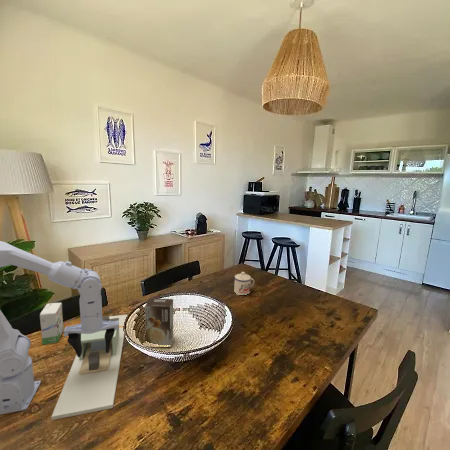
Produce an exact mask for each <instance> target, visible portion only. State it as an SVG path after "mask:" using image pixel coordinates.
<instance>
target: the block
mask: <svg viewBox="0 0 450 450" xmlns="http://www.w3.org/2000/svg"><path fill="white" fill-rule="evenodd" d="M105 349H106V342H105V340H102V341H95V342H91V351H97V350H105Z"/></svg>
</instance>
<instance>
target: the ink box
mask: <svg viewBox="0 0 450 450" xmlns="http://www.w3.org/2000/svg"><path fill="white" fill-rule="evenodd" d="M39 320H40V329H41V330H40V331H41V332H40V333H41V342H42V345H51V344H56V343H59V341H60V339H61V337H62V334H63V333H64V329H65V328H64V321H63V320H64V318H63V303H62V302H53V303H52V302H51V303H46V304H45V306H44V307H43V309H42V310H41V312H40V313H39Z"/></svg>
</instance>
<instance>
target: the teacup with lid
mask: <svg viewBox="0 0 450 450" xmlns="http://www.w3.org/2000/svg"><path fill="white" fill-rule="evenodd" d="M254 284H255V280H254V278H252V276H250V274H248V273H246V272H245V271H241V273H237V274H235V275H234V287H233V288H234V289H233V292H235V293H236V294H235V293H234V294H235V295H237V296H239V295H247V294H249V293H250V294H251V288H253V286H254ZM250 294H249V295H250ZM247 296H248V295H247Z"/></svg>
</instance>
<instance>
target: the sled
mask: <svg viewBox="0 0 450 450" xmlns="http://www.w3.org/2000/svg"><path fill="white" fill-rule="evenodd" d="M102 318H103V320H104V321H109V315H107V316H105V315H102ZM112 349H113V348H112V340H111V342H110V346H109V353H106V349H105V350H97V351H91V342H90V343H89V345H88V348H87V351H86V354H85V356H84V359H83V362H82V365H81V368H80V370H79V374H82V373H89V372H95V371H101V370H108V367H109V363H110V358H111V353H112Z"/></svg>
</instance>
